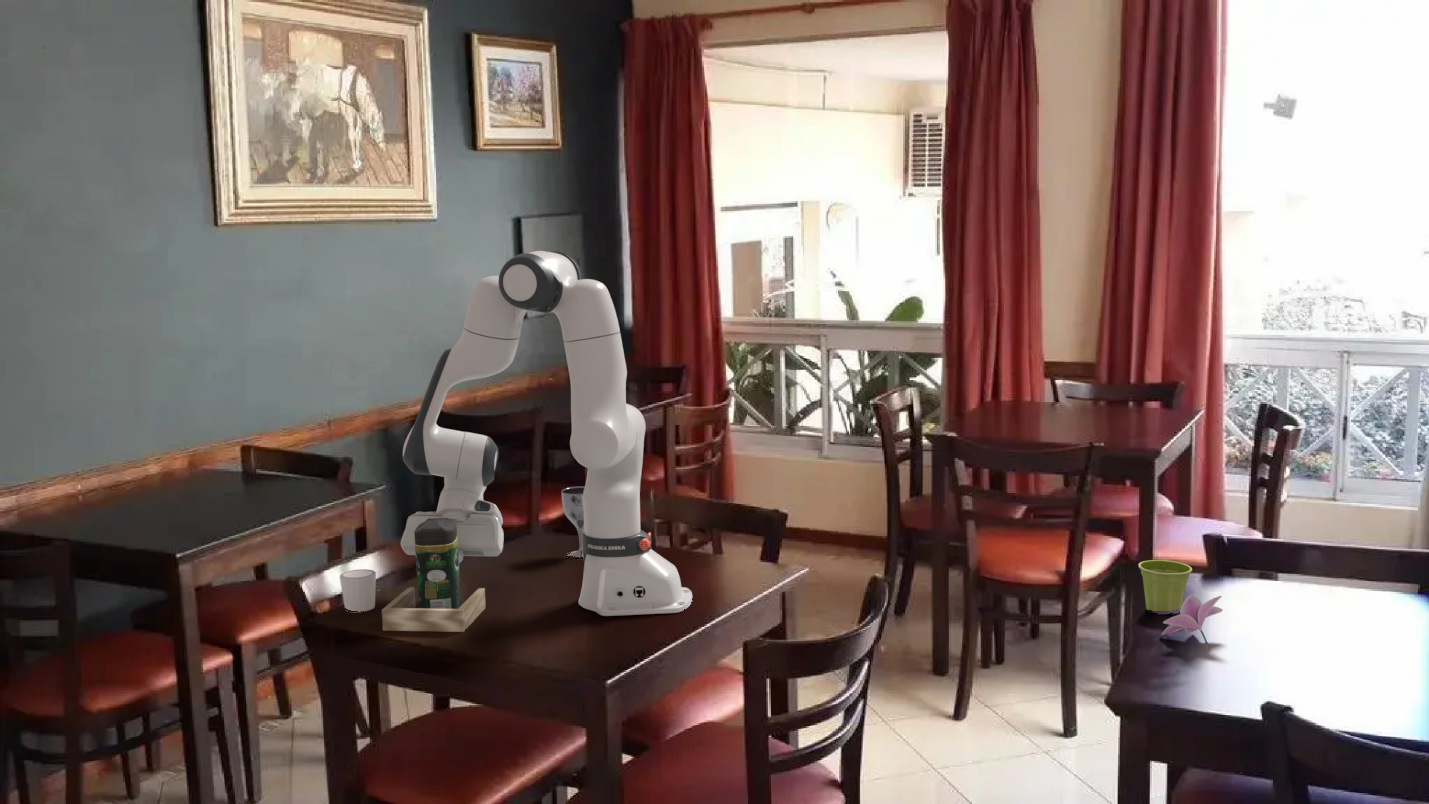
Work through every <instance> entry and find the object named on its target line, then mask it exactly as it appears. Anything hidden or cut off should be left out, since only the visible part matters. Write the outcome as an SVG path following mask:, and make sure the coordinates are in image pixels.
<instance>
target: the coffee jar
mask: <svg viewBox="0 0 1429 804" xmlns="http://www.w3.org/2000/svg"><path fill="white" fill-rule="evenodd" d="M414 535H415V552H416V555H415V562H416V565H415V566H416V577H417V579H416V580H417V581H416V582H417V594H418V595H417V597H418V608H434V609H458V608H459V607H460V606H461V605H462V593H461V582H460V580H461V579H460V578H461V576H460V564H459V559H458V541H457V527H456V524H455V523H454V522H453V521H451V520H450V519H448V518H429V519H427V520H426V521H425V522H423V523H421V524H420V525H419V526H418V527H417V528H416V530H415V532H414Z"/></svg>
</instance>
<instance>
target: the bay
mask: <svg viewBox="0 0 1429 804" xmlns="http://www.w3.org/2000/svg"><path fill="white" fill-rule="evenodd" d="M486 605H487V604H486V588H485V587H479V588H477V589H476V590H475V591H474V592H473V593H472V594H471V595H470V596H469V597H468V598H467V599H466V600H465V601H464V602H463V603H461V606H460V607H459V608H458V609H434V608H419V607H417V606H416V590H415V587H414V586H413V587H412V586H411V587H410V586H409V587H407V588H406V589H404V591H402V592H401V593H400V594H398V596H396V597H395V598H394V599H392V600H391V601H390V602H389V603H388V604H387V605H386V606H385V607H383V608H382V609H381V619H382V631H385V632H387V631H388V632H391V631H392V632H395V631H396V632H446V633H447V632H448V633H449V632H453V633H456V632H457V633H458V632H459V633H461V632H462V633H464V632H465V631H466V630H468V627H470V625H472V624H473V622H474V621H475V620H476V619H477V618H478V617H479V616H480V615H481V614H482V612H483V611H484V610H485V609H486V608H487V607H486ZM465 629H466V630H465Z"/></svg>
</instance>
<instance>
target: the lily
mask: <svg viewBox="0 0 1429 804" xmlns="http://www.w3.org/2000/svg"><path fill="white" fill-rule="evenodd" d="M1222 597H1223V596H1222V595H1219V596H1216V597H1213V598H1211V599H1209V600H1207V601H1206V602H1204V603H1202V601H1201V599H1199V597H1197V596H1195V595H1194V594H1189V595H1188V596H1187V597H1186V598H1185V600H1183V602H1182V606H1181V609H1180V613H1179V614H1177V615H1173V616H1172V617H1170V618H1167V619H1165V620H1164V621H1163V622H1162V623H1163V624H1165V625H1168V626H1167V627H1165V629H1164V630H1163V632H1162V633H1161V634H1160V636H1161V635H1164V634H1169V633H1172V632H1174V633H1176V632H1177V631H1178V632H1179V631H1180V630H1183V629H1184V632H1185V633H1187V632H1193V631H1196V630H1199V632H1200V634H1201V636H1202V638H1203V640H1204V642H1205V645H1206V644H1207V645H1209V643H1208V641H1207V638H1206V636H1205V634H1204V632H1203V629H1202V627H1203V625H1204V622H1205V620H1206V618H1209V617H1212V616H1214V615H1217V614H1219V613H1220V614H1221V613H1222V612H1223V610H1224V609H1222V608H1220V607H1218V606H1215V605H1216V603H1217V602H1218V601H1219V600H1220V599H1221V598H1222ZM1196 632H1197V631H1196ZM1172 634H1173V633H1172ZM1207 645H1206V646H1207Z"/></svg>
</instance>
